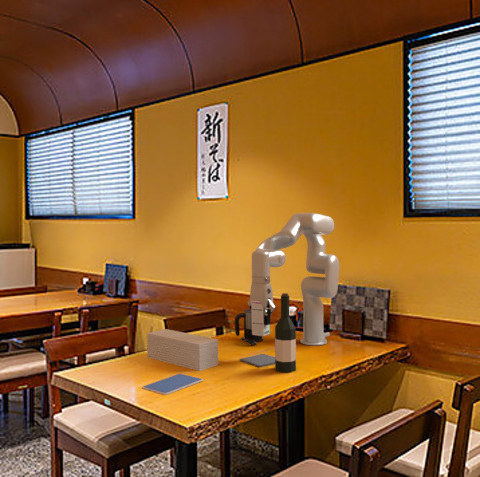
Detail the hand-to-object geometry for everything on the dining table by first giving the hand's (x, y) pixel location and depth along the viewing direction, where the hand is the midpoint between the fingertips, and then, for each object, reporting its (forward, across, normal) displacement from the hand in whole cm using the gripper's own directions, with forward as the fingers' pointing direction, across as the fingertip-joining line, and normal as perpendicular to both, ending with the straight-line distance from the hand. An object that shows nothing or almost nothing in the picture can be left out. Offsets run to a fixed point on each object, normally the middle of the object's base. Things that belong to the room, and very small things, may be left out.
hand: (261, 323), depth 215 cm
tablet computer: (+17, -2, +44) cm, 47 cm away
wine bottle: (+16, -15, +1) cm, 22 cm away
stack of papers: (+17, +22, +25) cm, 37 cm away
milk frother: (+16, +28, -19) cm, 37 cm away
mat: (+16, 0, 0) cm, 16 cm away
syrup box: (+5, 0, 0) cm, 5 cm away
